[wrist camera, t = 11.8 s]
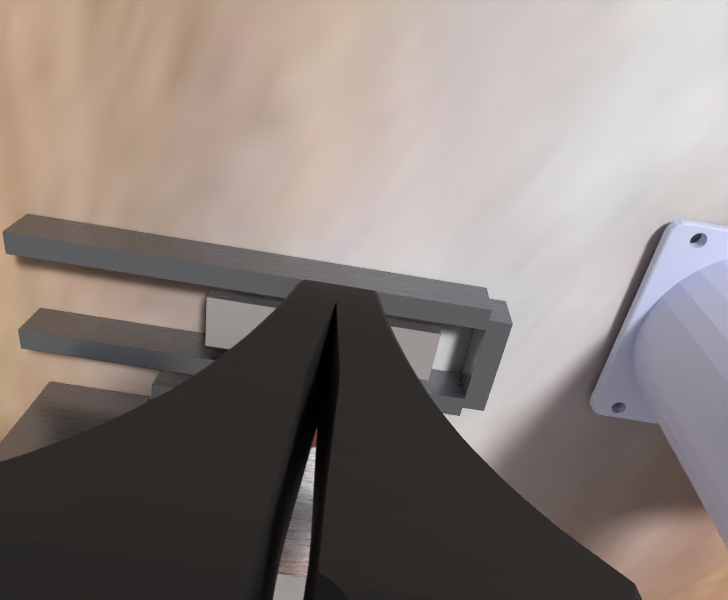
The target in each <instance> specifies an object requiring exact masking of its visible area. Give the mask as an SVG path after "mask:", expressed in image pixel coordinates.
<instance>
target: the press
mask: <svg viewBox="0 0 728 600" xmlns="http://www.w3.org/2000/svg"><path fill="white" fill-rule="evenodd" d="M2 232H3V238H4V244H5V250H6V254H11V255H17V256H23V257H29V258H36V259H42V260H48V261H55V262H61V263H67V264H73V265H80V266H86V267H92V268H99V269H105V270H111V271H117V272H124V273H130V274H136V275H142V276H149V277H155V278H161V279H168V280H174V281H180V282H186V283H193V284H199V285H205V286H211V287H218V288H224V289H230V290H237V291H243V292H249V293H255V294H262V295H268V296H274V297H281V298H286V297H287V296H288V295H289V294H290V293H291V292H292V290H293V289H294V288H295V287H296V285H297V284H298V283H300V282H302V281H303V280H305V279H306V280H312V281H318V282H325V283H331V284H337V285H343V286H350V287H356V288H362V289H368V290H374V291H375V292H376V293H377V294H378V296H379V297H380V300H381V304H382V307H383V309H384V312H385V314H387V315H393V316H400V317H406V318H412V319H419V320H425V321H431V322H437V323H444V324H450V325H456V326H463V327H469V328H475V329H474V332H473V335H472V339H471V342H470V346H469V349H468V352H467V356H466V359H465V362H464V366H463V369H462V373H461V374H459V373H452V372H446V371H439V370H433V369H431V373H430V376H429V380H423V379H419V380H420V381H421V383H422V384H423V386H424V387H425V389H426V390H427V392H428V394H429V395H430V397H431V398H432V399H433V401H434V402H435V404H436V405H437V407H438V408H439V409H440V411H441V412H442V413H445V414H451V415H458V416H460V413H461V410H462V408H469V409H475V410H482V411H484V409H485V406H486V403H487V400H488V397H489V394H490V391H491V388H492V385H493V382H494V379H495V376H496V373H497V370H498V367H499V364H500V361H501V358H502V355H503V352H504V349H505V346H506V343H507V340H508V337H509V334H510V331H511V328H512V325H513V324H512V320H511V317H510V314H509V311H508V307H507V304H506V301H500V300H493V299H489V296H488V292H487V288H482V287H476V286H470V285H464V284H458V283H451V282H445V281H439V280H433V279H427V278H420V277H414V276H408V275H402V274H396V273H390V272H383V271H377V270H371V269H365V268H359V267H353V266H346V265H340V264H334V263H328V262H322V261H315V260H309V259H303V258H297V257H291V256H285V255H278V254H272V253H266V252H260V251H254V250H247V249H241V248H235V247H229V246H223V245H217V244H210V243H204V242H198V241H192V240H186V239H179V238H173V237H167V236H161V235H155V234H149V233H142V232H136V231H130V230H124V229H118V228H112V227H105V226H99V225H93V224H87V223H81V222H74V221H68V220H62V219H56V218H50V217H44V216H37V215H31V214H26V215H25V216H24V217H22V218H21V219H19V220H18V221H17V222H15V223H14V224H12V225H11V226H10V227H8V228H7V229H5V230H4V231H2ZM18 332H19V338H20V344H21V348H23V349H29V350H36V351H42V352H49V353H55V354H62V355H68V356H75V357H81V358H88V359H94V360H101V361H107V362H114V363H120V364H127V365H133V366H140V367H146V368H152V369H159V370H161V371H160V372H159V374H158V376H157V378H156V379H155V381H154V383H153V385H152V392H153V399H154V398H156V397H158V396H160V395H162V394H164V393H166V392H168V391H169V390H171V389H173V388H174V387H176V386H178V385H179V384H181V383H182V382H184V381H186V380H187V379H189V378H190V377H192V376H193V375H195V374H196V373H198V372H199V371H201V370H202V369H204V368H205V367H207V366H208V365H209V364H211V363H212V362H214V361H215V360H216V359H218V358H219V357H220V356H222V355H223V354H224V353H225V352H227V351H228V350H229V349H224V348H218V347H211V346H205V339H206V334H203V333H197V332H190V331H184V330H178V329H171V328H165V327H158V326H152V325H146V324H139V323H133V322H126V321H120V320H114V319H107V318H101V317H94V316H88V315H82V314H75V313H69V312H63V311H56V310H50V309H43V308H40V309H38V310H37V311H36V312H35V313H34V314H33V315H32V316H31V317H30V318H29V319H28V320H27V321H26V322H25V323H24V324H23V325H22V326H21V327H20V328H19V329H18ZM148 401H150V399H149V397H148V396H141V395H134V394H128V393H121V392H115V391H108V390H102V389H95V388H89V387H82V386H75V385H69V384H62V383H56V382H49V383H48V385H47V386H46V387H45V388H44V390H43V391H42V392H41V393H40V395H39V396H38V397H37V398H36V399H35V401H34V402H33V403H32V404H31V406H30V407H29V408H28V409H27V411H26V412H25V413H24V414H23V416H22V417H21V418H20V419H19V420H18V422H17V423H16V424H15V425H14V427H13V428H12V429H11V430H10V432H9V433H8V434H7V435H6V437H5V438H4V439H3V440H2V442H1V443H0V462H1V461H4V460H7V459H10V458H14V457H17V456H20V455H23V454H26V453H29V452H32V451H35V450H37V449H40V448H43V447H46V446H49V445H51V444H54V443H56V442H59V441H61V440H64V439H67V438H69V437H72V436H74V435H77V434H79V433H82V432H84V431H87V430H89V429H91V428H94V427H96V426H98V425H101V424H103V423H105V422H108V421H110V420H112V419H114V418H116V417H119V416H121V415H123V414H125V413H127V412H129V411H131V410H133V409H134V408H136V407H138V406H140V405H142V404H144V403H146V402H148ZM310 453H314V454H316V447H314V448H311V451H310Z"/></svg>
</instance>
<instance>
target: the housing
mask: <svg viewBox="0 0 728 600" xmlns="http://www.w3.org/2000/svg"><path fill="white" fill-rule="evenodd" d="M314 471H315V454H314V453H310V454H309V458H308V461H307V465H306V468H305V472H304V475H303V479H302V482H301V486H300V489H299V493H298V496H297V500H296V503H295V507H294V510H293V514H292V517H291V521H290V524H289V528H288V531H287V535H286V539H285V543H284V547H283V551H282V555H281V560H280V564H279V569H278V575H277V580H276V586H275V591H274V596H273V600H303V597H304V590H305V584H306V577H307V570H308V562H309V552H310V542H311V525H312V507H313V489H314Z"/></svg>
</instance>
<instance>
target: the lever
mask: <svg viewBox="0 0 728 600" xmlns="http://www.w3.org/2000/svg"><path fill="white" fill-rule="evenodd" d="M284 299H285V298H281V297H274V296H268V295H262V294H255V293H249V292H243V291H237V290H230V289H224V288H218V287H212V288H211V290H210V292H209V294H208V296H207V303H206V339H205V346H211V347H218V348H224V349H230V348H232V347H233V346H234V345H235V344H237V343H238V342H239V341H241V340H242V339H243V338H244V337H245V336H247V335H248V334H249V333H250V332H251V331H252V330H253V329H255V328H256V327H257V326H258V325H259V324H260V323H261V322H262V321H263V320H264V319H265V318H266V317H268V316H269V315H270V314H271V313H272V312H273V311H274V310H275V309H276V308H277V307H278V306H279V305H280V304H281V303H282V302H283V300H284ZM386 317H387V319H388V322H389V324H390V326H391V328H392V330H393V333H394V335H395V337H396V339H397V341H398V343H399V345H400V346H401V348H402V350H403V352H404V354H405V356H406V358H407V359H408V361H409V363H410V365H411V367H412V368H413V370H414V372H415V373H416V375H417V377H418V378H419V379H423V380H429V376H430V373H431V369H432V365H433V361H434V357H435V354H436V350H437V346H438V342H439V338H440V335H441V333H440V324H439V323H437V322H431V321H425V320H419V319H412V318H406V317H400V316H393V315H387V314H386ZM316 437H317V429H316V433H315V436H314V440H313V444H312V447H311V448H314V447H316Z"/></svg>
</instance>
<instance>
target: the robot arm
mask: <svg viewBox="0 0 728 600" xmlns="http://www.w3.org/2000/svg"><path fill="white" fill-rule="evenodd" d="M697 233H702V237H701V238H700V239H699V240H698V241H697V242H695V243H690V239H691V238H692V237H693V236H694V235H696V234H697ZM616 403H621V404H620V405H618V406H613V405H614V404H616ZM590 405H591V407H592V409H593V411H594V412H595V413H596V414H599V415H603V416H610V417H616V418H623V419H629V420H635V421H642V422H648V423H655V424H659V426H660V427H661V429H662V431H663V433H664V435H665V436H666V438H667V440H668V442H669V444H670V446H671V447H672V449H673V451H674V453H675V455H676V456H677V458H678V460H679V462H680V464H681V465H682V467H683V469H684V471H685V473H686V475H687V476H688V478H689V480H690V482H691V484H692V485H693V487H694V489H695V491H696V493H697V495H698V496H699V498H700V500H701V502H702V504H703V505H704V507H705V509H706V511H707V513H708V515H709V516H710V518H711V520H712V522H713V524H714V525H715V527H716V529H717V531H718V533H719V535H720V536H721V538H722V540H723V542H724V544H725V545H726V547H727V549H728V227H727V226H721V225H715V224H709V223H704V222H698V221H692V220H686V219H685V220H677V221H674V222H672V223H671V224H670V225H668V226H667V228H666V229H665V231H664V233H663V235H662V237H661V239H660V242H659V244H658V246H657V248H656V251H655V253H654V255H653V257H652V260H651V262H650V264H649V267H648V269H647V271H646V273H645V276H644V278H643V280H642V282H641V285H640V287H639V289H638V291H637V294H636V296H635V298H634V300H633V303H632V305H631V307H630V309H629V312H628V314H627V316H626V319H625V321H624V323H623V325H622V328H621V330H620V332H619V334H618V337H617V339H616V341H615V343H614V346H613V348H612V350H611V352H610V355H609V357H608V359H607V361H606V364H605V366H604V368H603V370H602V373H601V375H600V377H599V380H598V382H597V384H596V386H595V389H594V391H593V393H592V395H591V398H590ZM316 429H317V437H316V454H315V471H314V489H313V507H312V525H311V542H310V552H309V562H308V570H307V577H306V584H305V590H304V597H303V600H642V599H641V596H640V594H639V592H638V590H637V587H636V585H635V584H634V583H633V582H632V581H630V580H629V579H628V578H626V577H625V576H624V575H622V574H621V573H619V572H618V571H617V570H615V569H614V568H613V567H611V566H610V565H608V564H607V563H606V562H604V561H603V560H602V559H600V558H599V557H598V556H596V555H595V554H593V553H592V552H591V551H589V550H588V549H587V548H585V547H584V546H582V545H581V544H580V543H578V542H577V541H576V540H574V539H573V538H571V537H570V536H569V535H567V534H566V533H565V532H563V531H562V530H561V529H560V528H558V527H557V526H556V525H555V524H553V523H552V522H551V521H550V520H549V519H548V518H546V517H545V516H544V515H543V514H542V513H540V512H539V511H538V510H537V509H536V508H534V507H533V506H532V505H531V504H530V503H529V502H527V501H526V500H525V499H524V498H523V497H521V496H520V495H519V494H518V493H517V492H516V491H515V490H514V489H513V488H512V487H511V486H510V485H508V484H507V483H506V482H505V481H504V480H503V479H502V478H501V477H500V476H499V475H498V474H497V473H496V472H495V471H494V470H493V469H492V468H491V467H490V466H489V465H488V464H487V463H486V462H485V461H484V460H483V459H482V458H481V457H480V456H479V455H478V454H477V453H476V452H475V451H474V450H473V449H472V448H471V447H470V446H469V444H468V443H467V442H466V441H465V440H464V439H463V438H462V437H461V436H460V434H459V433H458V432H457V431H456V430H455V428H454V427H453V426H452V425H451V423H450V422H449V421H448V420H447V418H446V417H445V416H444V415H443V413H442V412H441V411H440V409H439V408H438V407H437V405H436V404H435V402H434V401H433V399H432V398H431V397H430V395H429V394H428V392H427V390H426V389H425V387H424V386H423V384H422V383H421V381H420V380H419V378H418V377H417V375H416V373H415V372H414V370H413V368H412V367H411V365H410V363H409V361H408V359H407V358H406V356H405V354H404V352H403V350H402V348H401V346H400V345H399V343H398V341H397V339H396V337H395V335H394V333H393V330H392V328H391V326H390V324H389V322H388V319H387V317H386V314H385V312H384V309H383V307H382V304H381V300H380V297H379V296H378V294H377V293H376V292H375V291H374V290H368V289H362V288H356V287H350V286H343V285H337V284H331V283H325V282H318V281H312V280H306V279H305V280H303V281H302V282H300V283H298V284H297V285H296V287H295V288H294V289H293V290H292V292H291V293H290V294H289V295H288V296H287V297H286V298H285V299H284V300H283V302H282V303H281V304H280V305H279V306H278V307H277V308H276V309H275V310H274V311H273V312H272V313H271V314H270V315H269V316H268V317H266V318H265V319H264V320H263V321H262V322H261V323H260V324H259V325H258V326H257V327H256V328H255V329H253V330H252V331H251V332H250V333H249V334H248V335H247V336H245V337H244V338H243V339H242V340H241V341H239V342H238V343H237V344H235V345H234V346H233V347H232V348H230V349H229V350H228V351H227V352H225V353H224V354H223V355H222V356H220V357H219V358H218V359H216V360H215V361H214V362H212V363H211V364H209V365H208V366H207V367H205V368H204V369H202V370H201V371H199V372H198V373H196V374H195V375H193V376H192V377H190V378H189V379H187V380H186V381H184V382H182V383H181V384H179V385H178V386H176V387H174V388H173V389H171V390H169V391H168V392H166V393H164V394H162V395H160V396H158V397H156V398H154V399H152V400H150V401H148V402H146V403H144V404H142V405H140V406H138V407H136V408H134V409H133V410H131V411H129V412H127V413H125V414H123V415H121V416H119V417H116V418H114V419H112V420H110V421H108V422H105V423H103V424H101V425H98V426H96V427H94V428H91V429H89V430H87V431H84V432H82V433H79V434H77V435H74V436H72V437H69V438H67V439H64V440H61V441H59V442H56V443H54V444H51V445H49V446H46V447H43V448H40V449H37V450H35V451H32V452H29V453H26V454H23V455H20V456H17V457H14V458H10V459H7V460H4V461H1V462H0V600H273V596H274V591H275V586H276V580H277V575H278V569H279V564H280V560H281V555H282V551H283V547H284V543H285V539H286V535H287V531H288V528H289V524H290V521H291V517H292V514H293V510H294V507H295V503H296V500H297V496H298V493H299V489H300V486H301V482H302V479H303V475H304V472H305V468H306V465H307V461H308V458H309V454H310V451H311V447H312V444H313V440H314V436H315V433H316Z"/></svg>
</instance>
